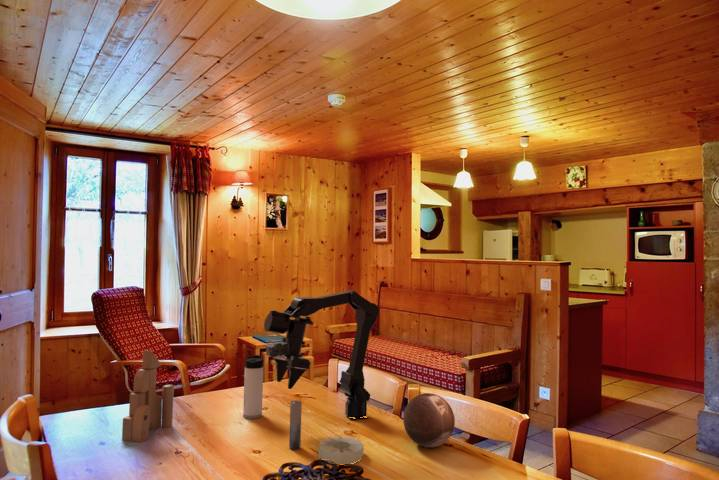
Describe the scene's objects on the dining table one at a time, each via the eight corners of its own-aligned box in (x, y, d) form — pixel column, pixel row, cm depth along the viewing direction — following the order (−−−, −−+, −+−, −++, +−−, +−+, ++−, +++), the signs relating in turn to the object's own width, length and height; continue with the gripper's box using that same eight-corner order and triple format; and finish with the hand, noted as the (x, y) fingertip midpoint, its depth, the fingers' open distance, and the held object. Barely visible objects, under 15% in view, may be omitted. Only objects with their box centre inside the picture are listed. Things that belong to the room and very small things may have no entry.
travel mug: (264, 413, 168) (266, 355, 168) (258, 419, 161) (260, 359, 162) (247, 412, 168) (248, 354, 169) (240, 418, 162) (242, 358, 162)
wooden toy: (141, 443, 139) (144, 355, 140) (121, 440, 141) (125, 353, 142) (174, 425, 154) (177, 346, 155) (156, 423, 156) (159, 344, 157)
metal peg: (299, 445, 140) (300, 400, 141) (301, 449, 137) (302, 403, 138) (288, 446, 139) (289, 400, 140) (290, 450, 136) (291, 404, 137)
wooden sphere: (436, 460, 132) (437, 405, 132) (392, 445, 142) (393, 394, 142) (463, 445, 143) (464, 394, 144) (421, 432, 153) (422, 384, 153)
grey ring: (354, 445, 141) (354, 435, 141) (368, 462, 130) (369, 451, 130) (314, 450, 137) (314, 439, 137) (325, 467, 126) (326, 456, 126)
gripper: (261, 328, 160) (250, 375, 157) (283, 336, 144) (270, 390, 141) (292, 333, 165) (281, 379, 163) (315, 342, 149) (304, 393, 147)
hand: (284, 385), depth 153 cm, fingers open, 9 cm apart
